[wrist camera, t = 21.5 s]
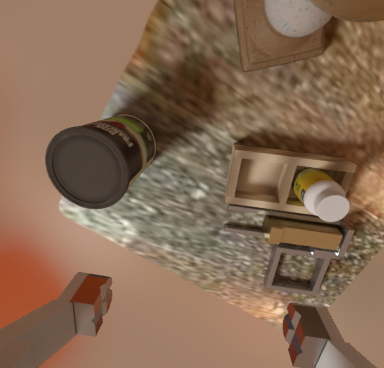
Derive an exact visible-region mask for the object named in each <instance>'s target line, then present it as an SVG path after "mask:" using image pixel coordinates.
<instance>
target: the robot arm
mask: <svg viewBox="0 0 384 368" xmlns="http://www.w3.org/2000/svg"><path fill="white" fill-rule="evenodd" d="M111 285H112V278H110V277H106V276H101V275H94V274H88V273H82V272H79V273H77V274H76V275H75V276H74V278H73V279H72V280H71V282H70V283H69V284H68V286H67V287H66V288H65V290H64V291H63V292H62V294H61V295H60V296H59V298H58V299H57V300H52V301H50V302H48V303H47V304H45V305H43V306H41V307H40V308H38V309H36V310H34V311H32V312H30V313H29V314H27V315H25V316H23V317H22V318H20V319H18V320H16V321H15V322H13V323H11V324H9V325H7V326H5V327H4V328H2V329H0V368H38V367H39V366H40V365H42V364H43V363H44V362H45V361H46V360H48V359H49V358H50V357H51V356H52V355H53V354H55V353H56V352H57V351H58V350H59V349H61V348H62V347H63V346H64V345H65V344H66V343H68V341H70V340H71V339H72V338H73V337H75V336H76V334H80V335H88V336H96V335H97V333H98V331H99V329H100V327H101V325H102V323H103V319H102V316H104V315H105V314H106V313H107V312H108V310H109V308H110V304H111V301H112V290H111V289H110V287H111ZM287 310H288V314H287V315H285V316H284V320H283V334H284V337H285V340H286V341H287V342H288V343H289V344H290V346H289V349H288V351H289V355H290V358H291V361H292V365H293V366H294V367H300V368H376V367H375V366H374V365H373V364H372V363H371V362H370V361H369V360H367V359H366V358H365V357H364V356H363V355H362V354H361V353H359V352H358V351H357V350H356V349H355V348H354V347H353V346H352V345H350V344H349V343H346V342H345V341H344V339H343V337H342V336H341V334H340V332H339V330H338V328H337V326H336V324H335V322H334V321H333V319H332V317H331V315H330V313H329V311H328V309H327V308H326V307H321V306H312V305H306V304H298V303H290V304H289V305H288V307H287Z"/></svg>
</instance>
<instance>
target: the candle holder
mask: <svg viewBox="0 0 384 368" xmlns="http://www.w3.org/2000/svg"><path fill="white" fill-rule="evenodd" d="M234 8H235V17H236V26H237V34H238V43H239V51H240V60H241V66H242V70H243V72H248V71H254V70H259V69H264V68H268V67H273V66H277V65H282V64H286V63H291V62H295V61H300V60H304V59H308V58H312V57H315V56H318V55H321V54H323V53H324V46H325V24H326V23H327V22H328V21H329V20H330V19H331V18H332V17H335V18H338V19H342V20H346V21H351V22H374V21H381V20H384V0H234Z"/></svg>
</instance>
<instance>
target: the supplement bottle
mask: <svg viewBox="0 0 384 368" xmlns="http://www.w3.org/2000/svg"><path fill="white" fill-rule="evenodd" d="M291 186H292V189H293V191H294V192H295V194H296V195H297V196H298V198H299V199H300V201H301V202H302V203H303V205H304V206H305V208H306V209H307V210H308V211H309V212H310V213H312V214H314V215H317V216H319V217H320V218H321V219H322V220H324V221H327V222H335V221H338V220H341V219H342V218H344V217H345V216H346V215H347V213H348V212H349V209H350V204H349V201H348V200H347V198H345V192H344V190H343V188H342V187H341V186H340V185H339V184H338V183H337V182H335V181H334V180H333V179H332V178H331V177H329V176H328V175H327V174H326V173H324V172H323V171H322V170H321V169H319V168H313V167H304V168H301V169H300V170H298V171H297V172H296V173H295V174H294V177H293V181H292V184H291Z"/></svg>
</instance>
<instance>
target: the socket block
mask: <svg viewBox="0 0 384 368" xmlns="http://www.w3.org/2000/svg"><path fill="white" fill-rule="evenodd" d="M228 210H235V211H242V212H249V213H257V214H264V215H271V216H278V217H285V218H293V219H300V220H307V221H314V222H321V223H329V224H334V226H335V227H336V228H337V229H338V230H339V231H340V233H341V234H342V235H343V237H342V239H341V242H340V244H339V247H338V249H337V250H332V249H325V248H318V247H311V246H304V245H297V244H290V243H283V242H280V243H279V245H278V244H274V246H273V249H272V253H271V256H270V260H269V263H268V266H267V270H266V273H265V277H264V280H263V281H264V285H265V288H267V289H273V290H280V291H286V292H293V293H299V294H306V295H313V296H316V295H317V292H318V290H319V287H320V285H321V282H322V280H323V278H324V275H325V273H326V270H327V268H328V265H329V263H330V261H331V258H332V259H335V258H336V256H339V257H344V255H345V252H346V250H347V248H348V245H349V243H350V241H351V238H352V236H353V234H354V231H355V230H354V229H353V228H352V227H351V226H350V225H349V224H348V223H347V222H346V221H345V220H344V219H343V218H342V219H341V220H338V221H335V222H327V221H324V220H322V219H321V218H320V217H319V216H317V215H310V214H303V213H296V212H288V211H281V210H274V209H267V208H259V207H252V206H245V205H238V204H230V203H228ZM224 231H226V232H233V233H240V234H247V235H254V236H261V237H265V235H264V232H263V230H262V229H255V228H248V227H241V226H234V225H227V224H225V225H224ZM281 253H288V254H295V255H302V256H309V257H316V258H318V261H317V263H316V266H315V269H314V271H313V274H312V276H311V279H310V282H309V284H307V283H300V282H294V281H287V280H280V279H274V275H275V272H276V269H277V265H278V262H279V259H280V256H281Z"/></svg>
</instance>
